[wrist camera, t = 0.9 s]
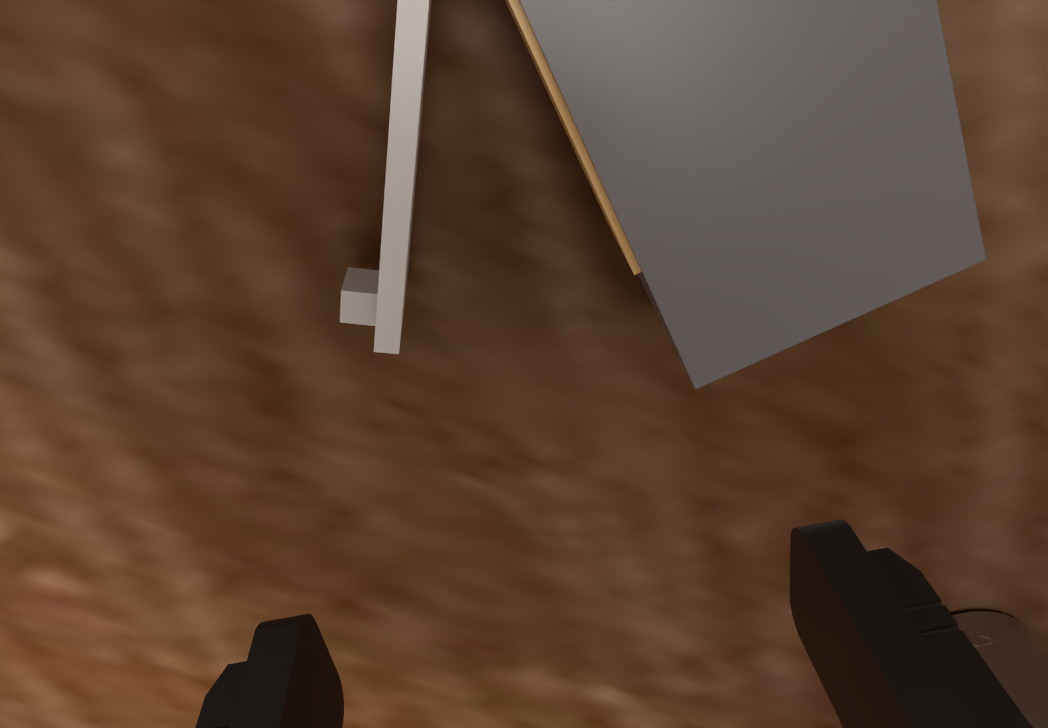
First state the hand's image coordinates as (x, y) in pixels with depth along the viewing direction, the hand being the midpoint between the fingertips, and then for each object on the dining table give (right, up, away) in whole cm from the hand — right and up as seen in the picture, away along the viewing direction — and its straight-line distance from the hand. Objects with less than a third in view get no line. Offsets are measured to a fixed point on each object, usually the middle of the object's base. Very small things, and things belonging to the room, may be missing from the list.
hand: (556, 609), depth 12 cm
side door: (-5, +13, +15) cm, 20 cm away
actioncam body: (+5, +16, +14) cm, 22 cm away
